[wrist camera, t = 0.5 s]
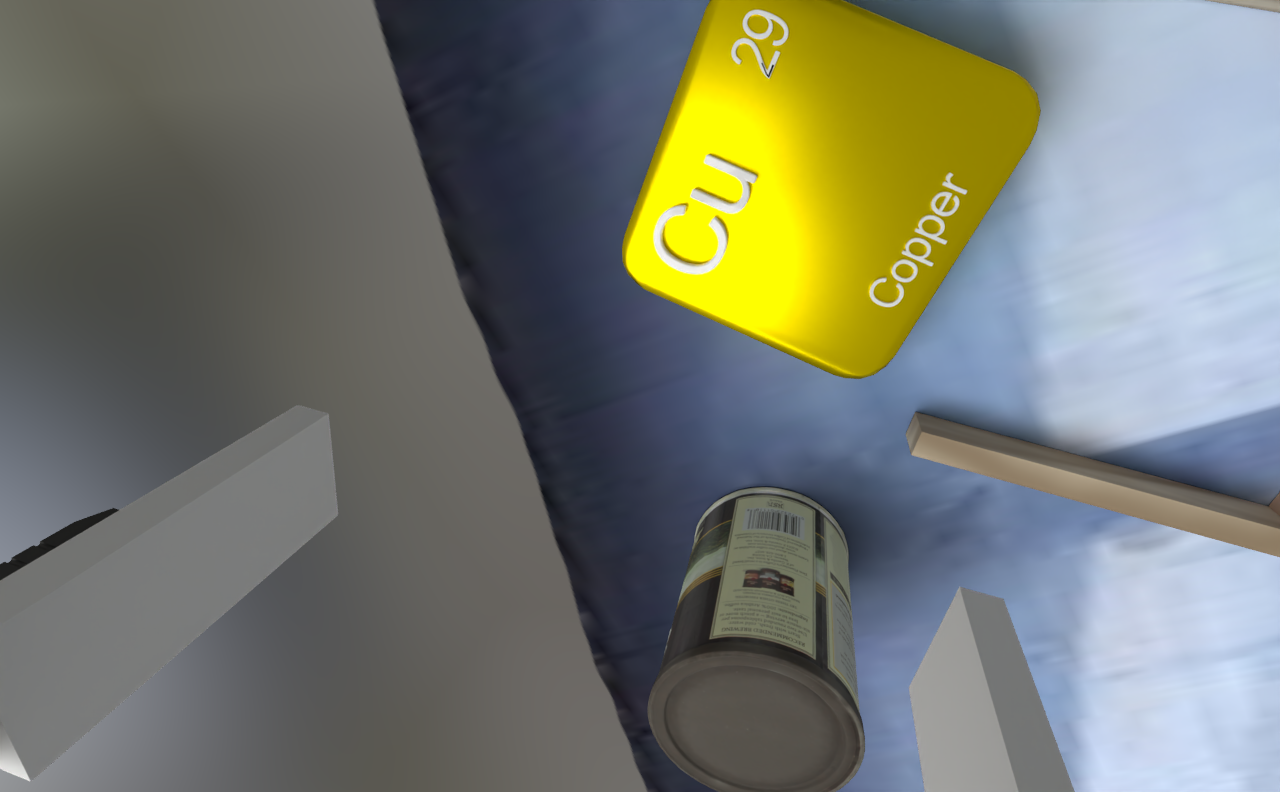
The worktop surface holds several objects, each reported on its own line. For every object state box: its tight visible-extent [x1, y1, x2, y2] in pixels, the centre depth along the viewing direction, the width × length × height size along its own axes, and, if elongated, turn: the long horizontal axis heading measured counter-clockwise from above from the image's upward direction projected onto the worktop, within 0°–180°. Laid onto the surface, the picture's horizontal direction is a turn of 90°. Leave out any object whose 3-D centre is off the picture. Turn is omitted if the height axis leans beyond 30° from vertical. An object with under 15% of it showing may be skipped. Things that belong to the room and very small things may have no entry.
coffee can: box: [648, 487, 865, 792], centre depth 36 cm, size 10×10×14 cm
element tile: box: [622, 0, 1041, 379], centre depth 31 cm, size 15×15×5 cm
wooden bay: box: [906, 0, 1280, 557], centre depth 29 cm, size 24×20×2 cm
